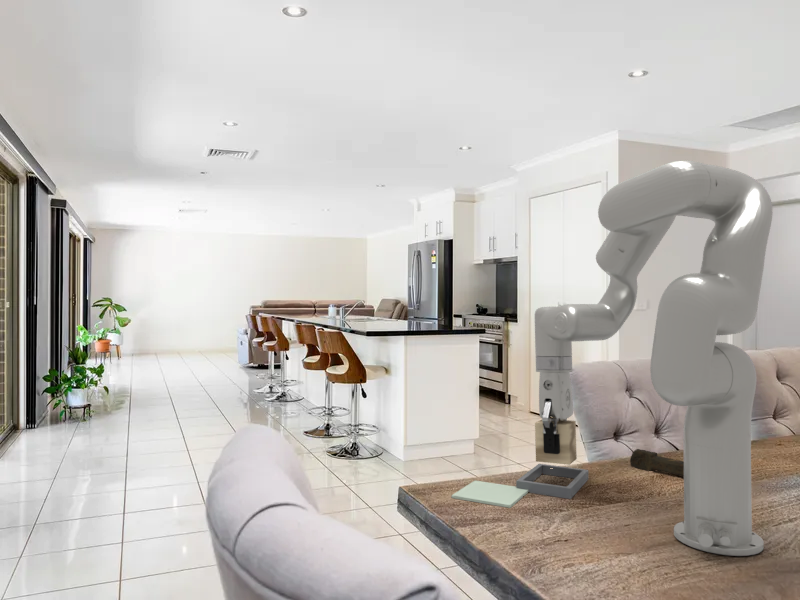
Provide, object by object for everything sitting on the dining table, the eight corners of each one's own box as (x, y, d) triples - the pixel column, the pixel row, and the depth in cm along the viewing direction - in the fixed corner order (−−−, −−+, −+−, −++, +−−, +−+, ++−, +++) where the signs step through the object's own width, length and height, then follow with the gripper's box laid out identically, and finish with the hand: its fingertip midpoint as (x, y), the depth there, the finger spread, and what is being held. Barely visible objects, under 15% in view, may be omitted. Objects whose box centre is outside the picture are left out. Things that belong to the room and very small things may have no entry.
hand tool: (718, 483, 127) (718, 461, 128) (710, 486, 125) (710, 464, 125) (636, 465, 142) (636, 446, 142) (627, 468, 140) (627, 448, 140)
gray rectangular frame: (570, 499, 115) (570, 488, 115) (516, 490, 121) (516, 480, 121) (588, 479, 129) (588, 469, 129) (538, 472, 135) (538, 463, 135)
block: (569, 464, 120) (568, 425, 121) (535, 461, 124) (534, 422, 124) (576, 458, 125) (575, 420, 126) (544, 455, 129) (543, 418, 129)
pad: (510, 507, 110) (510, 505, 110) (451, 497, 116) (451, 495, 116) (529, 491, 120) (529, 488, 120) (474, 482, 126) (475, 480, 126)
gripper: (561, 367, 116) (563, 460, 115) (581, 362, 131) (583, 444, 130) (524, 366, 120) (526, 456, 119) (547, 362, 135) (549, 441, 134)
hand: (556, 449), depth 125 cm, fingers closed on block, 6 cm apart
